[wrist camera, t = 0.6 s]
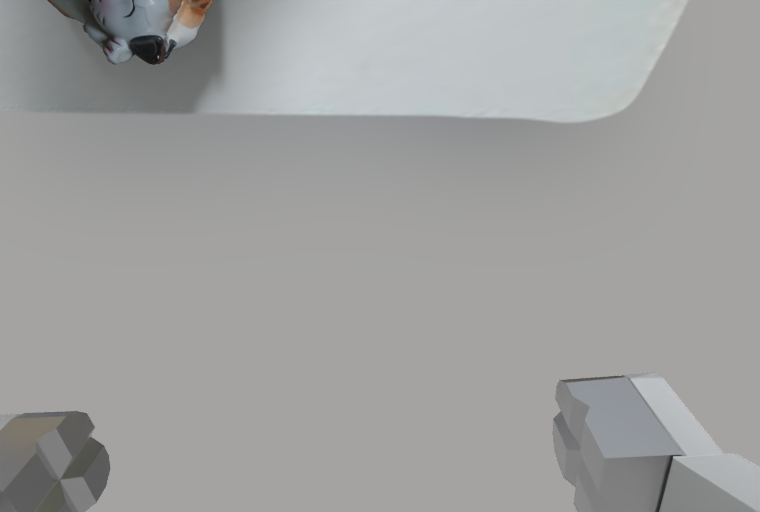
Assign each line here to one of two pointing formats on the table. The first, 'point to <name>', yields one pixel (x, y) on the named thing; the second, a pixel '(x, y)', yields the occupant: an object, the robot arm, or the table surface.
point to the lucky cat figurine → (137, 25)
